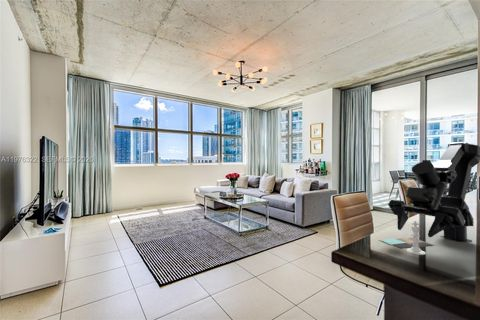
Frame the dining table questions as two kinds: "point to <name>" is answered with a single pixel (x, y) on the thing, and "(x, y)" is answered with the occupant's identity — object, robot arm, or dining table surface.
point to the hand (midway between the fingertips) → (413, 232)
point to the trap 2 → (423, 244)
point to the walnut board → (408, 241)
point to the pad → (393, 241)
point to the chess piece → (415, 241)
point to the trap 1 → (403, 245)
